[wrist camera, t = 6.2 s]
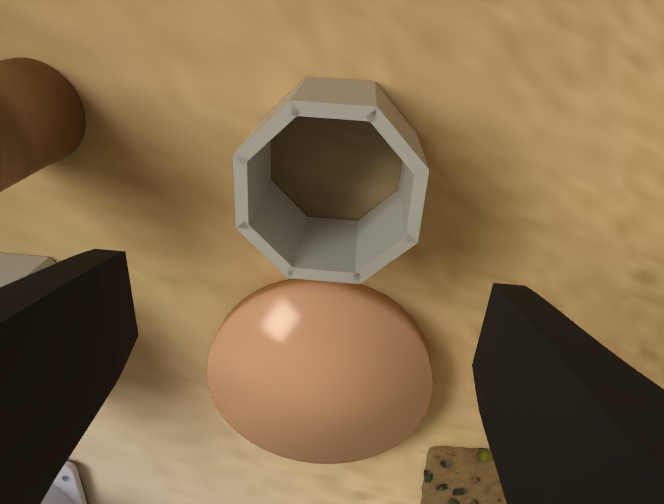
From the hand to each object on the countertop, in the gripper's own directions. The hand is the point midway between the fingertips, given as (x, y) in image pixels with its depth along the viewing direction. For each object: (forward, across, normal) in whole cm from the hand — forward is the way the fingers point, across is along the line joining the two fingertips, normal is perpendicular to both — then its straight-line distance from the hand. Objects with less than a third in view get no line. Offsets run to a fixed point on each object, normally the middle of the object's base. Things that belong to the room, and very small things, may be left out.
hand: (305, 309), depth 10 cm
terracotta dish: (+9, 0, +10) cm, 14 cm away
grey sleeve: (+9, 0, 0) cm, 9 cm away
